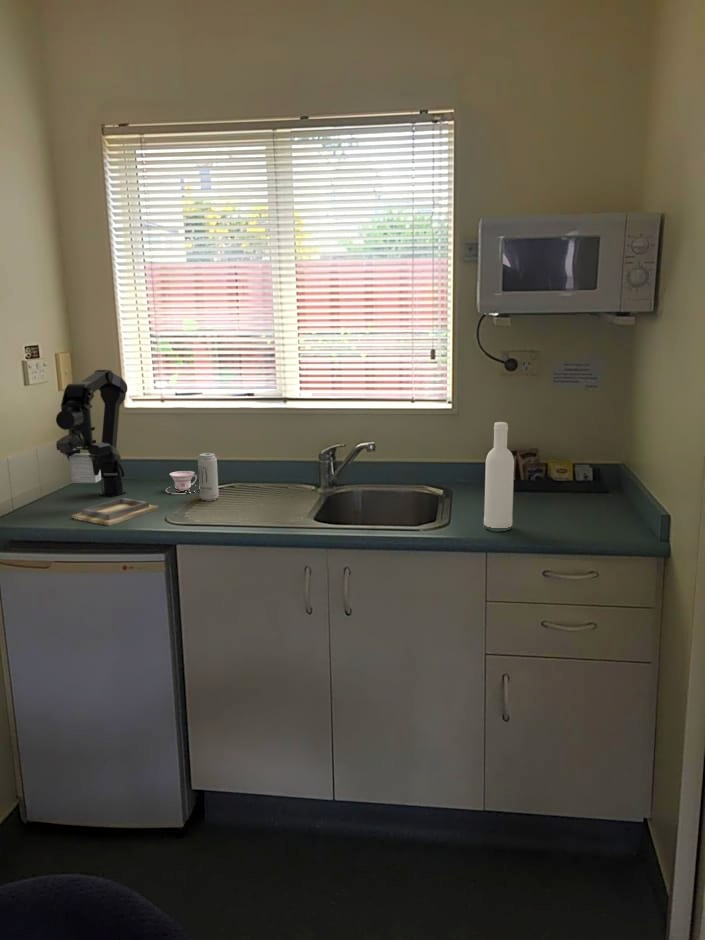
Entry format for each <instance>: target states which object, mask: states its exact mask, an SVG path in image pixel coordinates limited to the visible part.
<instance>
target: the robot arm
mask: <svg viewBox="0 0 705 940" xmlns="http://www.w3.org/2000/svg"><path fill="white" fill-rule="evenodd" d="M96 391H99V392H100V393H99V394H100V398H101V400H102V401H103V403H104V409H103V421H102V434H101V442H97V440H96V439H93V431H95V430H96V426H92V416H91V415H92V414H91V409H92V408H93V405H92V403H91V402H92V400H93V398H94V397H95V395H94V394H95V393H96ZM127 392H128V385H127V383H126V381H125V380H124V379H123V377H121V376H119V375H116V373H113V371H112V370H110V369H97V370H94V373H92V374H90V375H89V376H88V377H86V378H85V379H83V380H81V381H77V382H71V383H67V385H66V387H65V389H64V392H63V396H62V400H61V404H60V409H61V411H59V412H58V413H57V415H56V418H55V422H56V425H57V426H58V427H59V428H60V429H62V430H65V431H67V430H68V434H67V435H64V436H63V437H61V438H59V439H58V440H57V441H56V451H59V452H60V454H63V456H66V458H67V459H68V461H69V463H70V458H69V457H70V456H71V455H73V454H80V453H81V450H82V451H84V450H85V451H87V452H88V453H90V454H91V455H88V456H89V457H90V458H91V459H92V464H93V471H94V475H95V476H96V475H98V474H99V471H101V480H100V482H101V492H98V495H99V496H105V497H111V498H112V497H116V496H119V495H123V494H126V493H127V492H126V490H123V481H122V478H124V477H126V474H127V471H126V467H125V465H124V464H123V462H122V460H121V453H120V452H119V451H118V449H117V442H118V429H119V420H120V419H119V417H120V406H121V405H122V404H123V403H124V401H125V400H126V396H127Z"/></svg>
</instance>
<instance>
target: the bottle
mask: <svg viewBox="0 0 705 940" xmlns="http://www.w3.org/2000/svg"><path fill="white" fill-rule="evenodd" d="M508 425H509V424H508V423H507V422H505V421H497V422H496V421H495V422H494V425H493V447H492V449H491V450H489V451H488V454H486V455H487V456H486V458H485V473H484V474H485V477H484V514H483V515H484V516H483V526H484V525H485V526H487V527H491V528H508V527H511V526H512V527H513V511H514V510H513V509H514V508H513V506H514V505H513V504H514V474H515V458H514V456H513V453H512V451H510V450H509V449H508V431H509V426H508Z"/></svg>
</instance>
